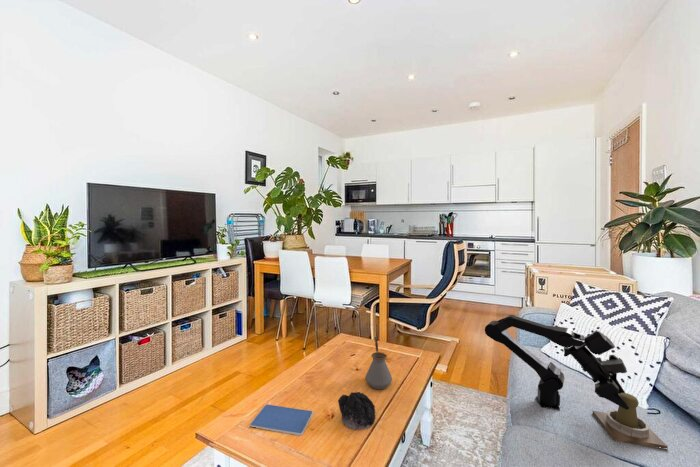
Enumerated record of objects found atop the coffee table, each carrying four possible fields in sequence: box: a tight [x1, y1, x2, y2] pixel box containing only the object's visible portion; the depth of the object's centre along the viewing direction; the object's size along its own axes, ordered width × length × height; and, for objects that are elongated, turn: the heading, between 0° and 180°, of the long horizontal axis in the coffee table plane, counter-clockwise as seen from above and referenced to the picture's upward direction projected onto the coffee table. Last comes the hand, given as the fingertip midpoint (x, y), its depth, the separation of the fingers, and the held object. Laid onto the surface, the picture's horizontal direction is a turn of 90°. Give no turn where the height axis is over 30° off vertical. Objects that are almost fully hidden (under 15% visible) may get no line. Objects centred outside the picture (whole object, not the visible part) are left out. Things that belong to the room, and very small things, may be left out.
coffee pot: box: [365, 336, 393, 390], centre depth 135 cm, size 21×12×15 cm, turn 0°
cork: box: [615, 392, 640, 429], centre depth 103 cm, size 6×6×11 cm
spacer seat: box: [592, 409, 669, 449], centre depth 103 cm, size 14×14×4 cm
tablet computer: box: [249, 404, 314, 437], centre depth 107 cm, size 19×13×1 cm, turn 78°
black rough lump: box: [337, 391, 376, 431], centre depth 108 cm, size 13×14×10 cm
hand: (626, 402), depth 103 cm, fingers open, 9 cm apart
